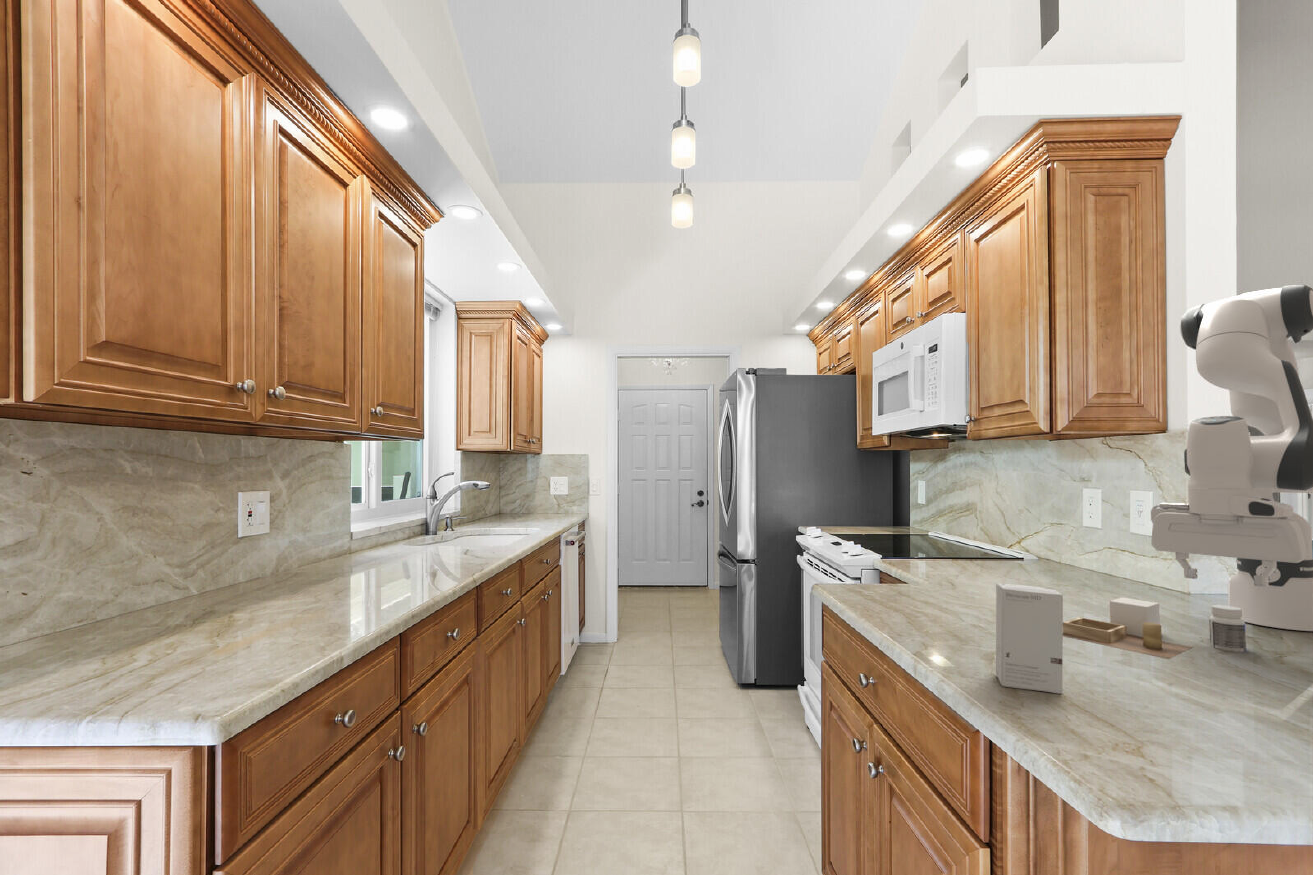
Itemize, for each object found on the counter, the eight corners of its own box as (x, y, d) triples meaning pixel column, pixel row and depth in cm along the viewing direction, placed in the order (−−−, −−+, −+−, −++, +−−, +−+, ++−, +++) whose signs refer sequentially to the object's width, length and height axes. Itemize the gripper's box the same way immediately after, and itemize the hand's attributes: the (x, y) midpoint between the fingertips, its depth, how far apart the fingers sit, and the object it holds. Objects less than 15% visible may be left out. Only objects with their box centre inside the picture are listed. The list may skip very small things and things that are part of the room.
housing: (1123, 632, 121) (1122, 597, 121) (1160, 639, 116) (1159, 603, 116) (1110, 636, 118) (1109, 601, 118) (1148, 644, 113) (1147, 607, 113)
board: (1084, 631, 122) (1084, 605, 122) (1193, 653, 107) (1192, 624, 108) (1056, 640, 115) (1056, 613, 115) (1168, 666, 101) (1167, 634, 101)
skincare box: (1001, 687, 91) (999, 588, 92) (995, 674, 96) (993, 581, 97) (1066, 695, 88) (1063, 593, 88) (1056, 681, 93) (1053, 585, 94)
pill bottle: (1254, 659, 104) (1252, 611, 105) (1222, 657, 105) (1220, 609, 106) (1233, 651, 109) (1231, 604, 109) (1203, 649, 110) (1202, 603, 110)
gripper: (1143, 502, 115) (1146, 575, 114) (1296, 507, 98) (1301, 593, 97) (1156, 502, 119) (1159, 572, 118) (1306, 507, 102) (1310, 589, 101)
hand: (1224, 582), depth 107 cm, fingers open, 8 cm apart
